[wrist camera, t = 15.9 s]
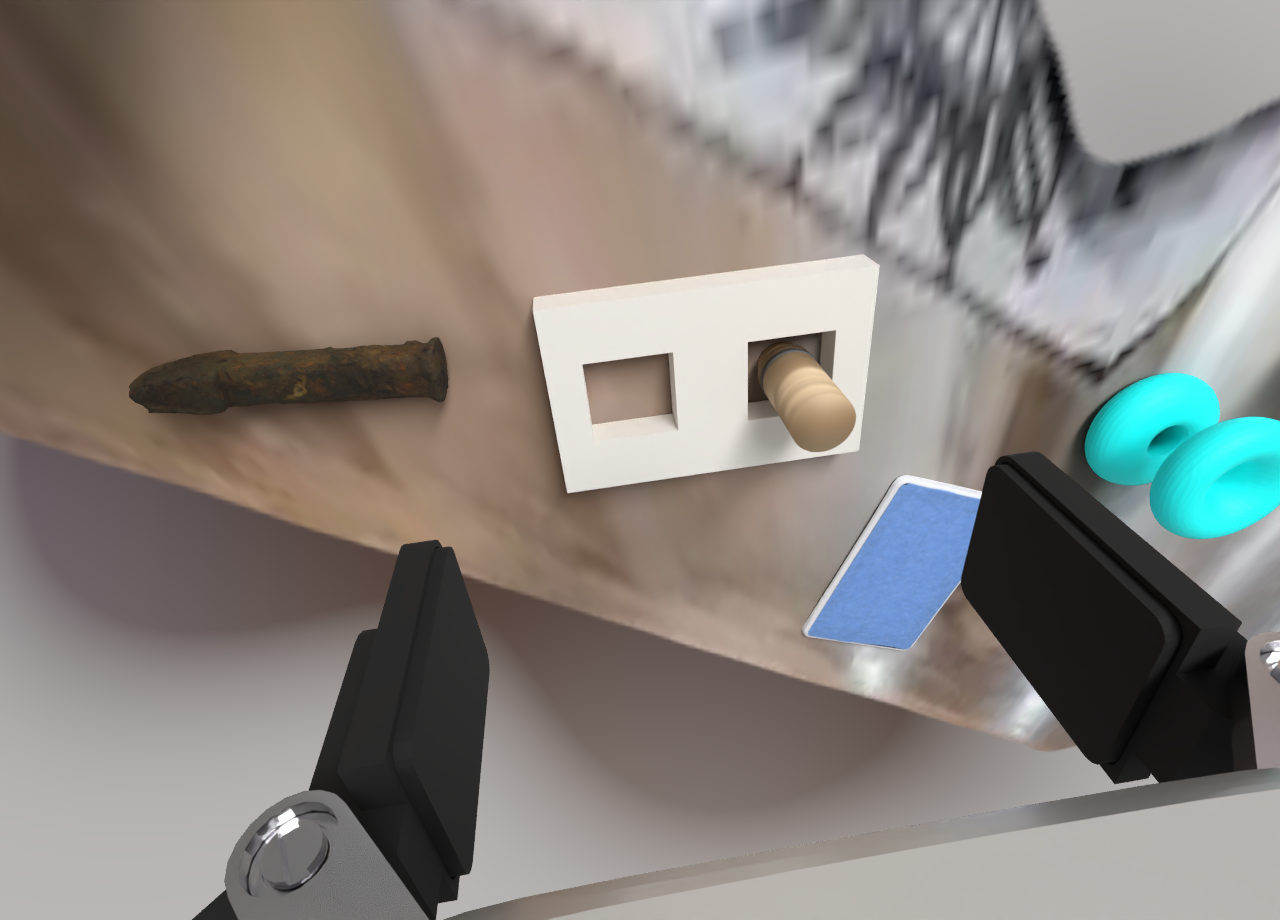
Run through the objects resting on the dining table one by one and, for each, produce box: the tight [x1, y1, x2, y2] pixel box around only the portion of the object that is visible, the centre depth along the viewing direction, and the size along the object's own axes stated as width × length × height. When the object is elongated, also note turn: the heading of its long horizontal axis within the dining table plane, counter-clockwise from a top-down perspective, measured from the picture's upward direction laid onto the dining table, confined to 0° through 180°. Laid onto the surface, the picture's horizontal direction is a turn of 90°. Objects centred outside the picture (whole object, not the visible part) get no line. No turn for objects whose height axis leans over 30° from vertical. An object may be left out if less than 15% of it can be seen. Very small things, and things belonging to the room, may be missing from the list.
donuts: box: [1085, 373, 1280, 539], centre depth 50 cm, size 10×10×10 cm
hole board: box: [533, 255, 880, 493], centre depth 46 cm, size 14×22×2 cm, turn 95°
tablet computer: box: [802, 475, 982, 651], centre depth 60 cm, size 19×13×1 cm, turn 162°
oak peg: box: [758, 342, 856, 452], centre depth 43 cm, size 4×4×9 cm
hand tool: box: [129, 337, 448, 414], centre depth 41 cm, size 19×4×5 cm, turn 88°
